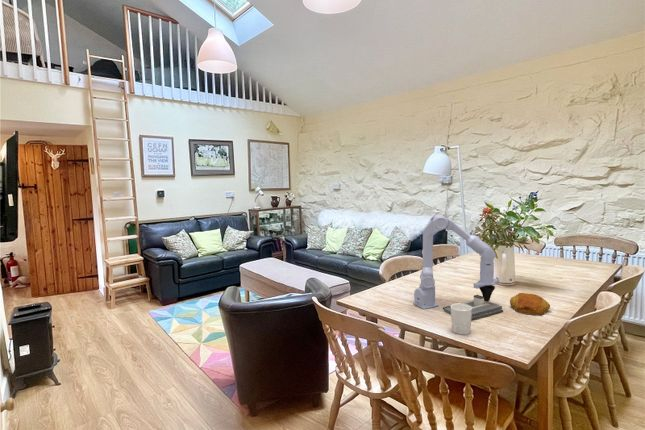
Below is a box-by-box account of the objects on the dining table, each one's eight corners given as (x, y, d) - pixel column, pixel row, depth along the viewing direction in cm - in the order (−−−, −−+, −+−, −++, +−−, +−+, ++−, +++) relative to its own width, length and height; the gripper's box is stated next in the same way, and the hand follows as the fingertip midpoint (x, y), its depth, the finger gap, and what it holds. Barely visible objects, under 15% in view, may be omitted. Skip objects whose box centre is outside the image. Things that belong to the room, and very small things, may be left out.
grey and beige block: (480, 307, 159) (480, 297, 159) (473, 304, 162) (473, 295, 162) (484, 306, 160) (484, 296, 160) (477, 303, 163) (477, 294, 163)
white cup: (466, 326, 144) (466, 302, 143) (475, 334, 136) (475, 310, 135) (447, 327, 144) (447, 303, 143) (455, 336, 136) (455, 311, 135)
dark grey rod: (444, 309, 162) (444, 307, 162) (442, 309, 163) (442, 307, 163) (476, 301, 170) (476, 299, 170) (475, 301, 171) (475, 299, 171)
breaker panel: (462, 320, 150) (462, 313, 150) (444, 311, 160) (443, 305, 160) (502, 309, 160) (502, 303, 160) (482, 302, 170) (482, 296, 170)
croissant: (514, 306, 169) (511, 289, 169) (552, 308, 159) (549, 291, 159) (506, 315, 158) (504, 297, 158) (547, 318, 148) (544, 299, 148)
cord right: (469, 321, 149) (469, 319, 148) (467, 320, 149) (467, 318, 149) (503, 312, 157) (503, 309, 157) (501, 311, 158) (501, 309, 158)
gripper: (482, 276, 155) (482, 306, 157) (505, 271, 161) (505, 300, 163) (469, 273, 162) (469, 301, 163) (492, 268, 167) (492, 296, 169)
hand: (486, 300), depth 163 cm, fingers closed
